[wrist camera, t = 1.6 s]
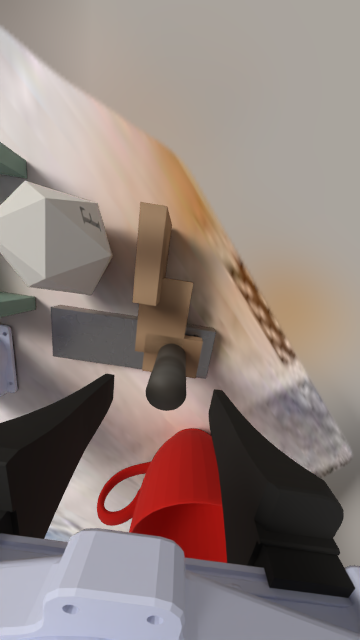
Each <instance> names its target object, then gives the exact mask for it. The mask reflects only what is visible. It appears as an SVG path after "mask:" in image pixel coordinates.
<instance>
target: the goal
mask: <svg viewBox="0 0 360 640" xmlns="http://www.w3.org/2000/svg"><path fill="white" fill-rule="evenodd" d="M0 174H3V175H9V176H15V177H22V178H27V170H26V160H24V159H23V158H22V157H20V156H19V155H17V154H16V153H15V152H13V151H12V150H11V149H9V148H8V147H6V146H5V145H4V144H2V143H1V142H0ZM35 309H36V306H35V297H32V296H26V295H19V294H13V293H6V292H0V317H4V316H9V315H13V314H17V313H22V312H26V311H30V310H35Z"/></svg>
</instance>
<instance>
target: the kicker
mask: <svg viewBox="0 0 360 640" xmlns="http://www.w3.org/2000/svg"><path fill="white" fill-rule="evenodd" d="M171 228H172V224H171V220H170V216H169V212H168V208H167V206H163V205H157V204H150V203H144V202H140V215H139V227H138V240H137V252H136V265H135V277H134V290H133V303H139V310H138V321H137V332H136V343H135V351H138V352H144V358H143V367H142V370H143V371H150V372H152V373H151V376H150V379H149V382H148V385H147V388H146V397H147V400H148V401H149V403H150V404H151V405H152V406H154V407H155V408H157V409H160V410H166V411H167V410H174V409H176V408H178V407H179V406H181V405H182V404H183V402H184V401H185V398H186V377H190V378H196V374H197V369H198V364H199V359H200V354H201V349H202V344H203V340H202V338H200V337H194V336H187V335H185V330H186V324H187V318H188V312H189V306H190V300H191V294H192V288H193V282H187V281H181V280H174V279H168V278H165V276H166V268H167V260H168V252H169V244H170V236H171Z"/></svg>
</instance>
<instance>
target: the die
mask: <svg viewBox="0 0 360 640" xmlns="http://www.w3.org/2000/svg"><path fill="white" fill-rule="evenodd" d="M0 253H1V254H2V256H3V257H4V258H5V259H6V260H7V262H8V263H9V264H10V265H11V267H12V268H13V269H14V270H15V272H16V273H17V274H18V275H19V276H20V278H21V279H22V280H23V281H24V283H25V284H26V285H27V286H28V287H33V288H41V289H48V290H56V291H64V292H71V293H79V294H86V295H92V293H93V291H94V290H95V288H96V286H97V284H98V282H99V281H100V279H101V277H102V275H103V273H104V271H105V270H106V268H107V266H108V264H109V262H110V261H111V259H112V257H113V256H112V252H111V249H110V245H109V242H108V238H107V235H106V231H105V228H104V224H103V221H102V217H101V213H100V210H99V206H98V203H95V202H92V201H89V200H85V199H82V198H79V197H76V196H73V195H69V194H66V193H63V192H60V191H57V190H53V189H50V188H47V187H44V186H41V185H37V184H34V183H31V182H28V181H24V182H23V183H22V184H21V185H20V186H19V187H18V188H17V189H16V190H15V191H14V192H13V193H12V194H11V195H10V196H9V197H8V198H7V199H6V200H5V201H4V202H3V203H2V204H1V205H0Z"/></svg>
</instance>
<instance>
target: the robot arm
mask: <svg viewBox="0 0 360 640" xmlns="http://www.w3.org/2000/svg"><path fill="white" fill-rule="evenodd" d="M6 333H7V334H6ZM113 390H114V375H111V374H105V375H103V376H101V377H100V378H98V379H96V380H95V381H93V382H92V383H90V384H88V385H87V386H85V387H83V388H82V389H80V390H78V391H76V392H75V393H73V394H71V395H69V396H67V397H66V398H64V399H62V400H60V401H57V402H55V403H53V404H51V405H49V406H46V407H44V408H42V409H39V410H37V411H34V412H31V413H29V414H26V415H24V416H21V417H18V418H15V419H12V420H9V421H5V422H2V423H0V640H360V566H355V565H354V566H347V567H345V568H344V567H343V565H342V563H341V561H340V559H339V558H338V556H337V555H339V554H340V551H339V548H338V546H337V545H336V543H335V541H334V539H333V537H334V536H335V534H336V532H337V530H338V529H339V527H340V525H341V523H342V521H343V509H342V507H341V505H340V503H339V502H338V500H337V499H336V498H335V496H334V494H333V493H332V491H331V490H330V489H329V487H328V486H327V484H326V483H325V481H323V480H322V479H320V478H319V477H317V476H316V475H314V474H313V473H311V472H310V471H308V470H306V469H305V468H303V467H302V466H300V465H299V464H298V463H296V462H295V461H293V460H292V459H291V458H289V457H288V456H287V455H285V454H284V453H283V452H281V451H280V450H279V449H278V448H276V447H275V446H274V445H273V444H272V443H270V442H269V441H268V440H267V439H266V438H265V437H263V436H262V435H261V434H260V433H259V432H258V431H257V430H256V429H255V428H254V427H253V426H252V425H251V424H250V423H249V422H248V421H247V420H246V419H245V417H244V416H243V415H242V414H241V413H240V412H239V411H238V409H237V408H236V407H235V406H234V404H233V403H232V402H231V401H230V399H229V398H228V397H227V396H226V394H225V393H224V392H223V391H222V390H215V389H214V392H213V396H212V400H211V405H210V409H209V424H210V431H211V436H212V441H213V446H214V451H215V455H216V460H217V466H218V472H219V480H220V488H221V498H222V508H223V518H224V529H225V541H226V554H227V563H223V562H215V561H207V560H200V559H192V558H185V557H184V551H183V550H182V548H181V547H180V546H179V545H178V544H176V543H175V542H174V541H173V540H170V539H167V538H164V537H160V536H152V535H145V534H137V533H130V532H122V531H115V530H107V529H100V528H91V529H83V530H81V531H79V532H77V533H76V534H74V535H73V536H71V538H70V540H69V542H63V541H55V540H48V539H44V538H45V535H46V533H47V531H48V528H49V526H50V524H51V521H52V519H53V517H54V514H55V512H56V510H57V508H58V506H59V503H60V501H61V499H62V497H63V494H64V492H65V490H66V488H67V486H68V484H69V482H70V479H71V477H72V475H73V473H74V471H75V469H76V467H77V465H78V463H79V461H80V459H81V457H82V455H83V453H84V451H85V449H86V447H87V445H88V444H89V442H90V440H91V439H92V437H93V435H94V434H95V432H96V430H97V429H98V427H99V425H100V424H101V422H102V420H103V419H104V417H105V415H106V414H107V412H108V409H109V407H110V405H111V403H112V400H113ZM16 391H17V379H16V370H15V360H14V351H13V342H12V332H11V328H10V327H9V326H8V325H2V324H0V397H1V396H2V395H4V394H5V393H7V392H10V393H14V392H16Z"/></svg>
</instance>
